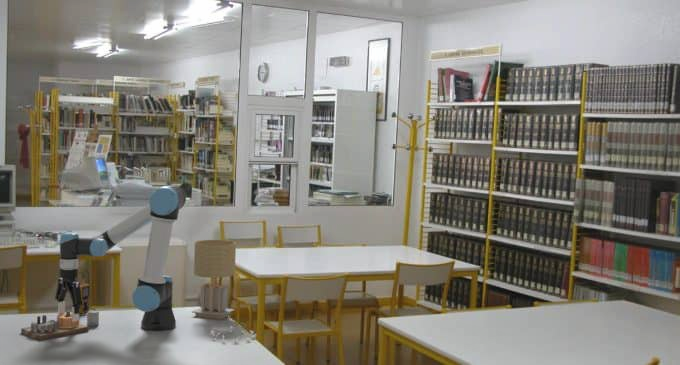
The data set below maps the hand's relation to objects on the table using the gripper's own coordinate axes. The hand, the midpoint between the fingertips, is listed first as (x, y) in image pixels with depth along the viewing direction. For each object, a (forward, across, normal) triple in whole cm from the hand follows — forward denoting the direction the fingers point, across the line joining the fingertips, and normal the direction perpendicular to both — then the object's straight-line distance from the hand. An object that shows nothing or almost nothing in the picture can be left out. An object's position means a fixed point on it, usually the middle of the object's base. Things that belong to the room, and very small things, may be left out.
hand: (68, 318), depth 326 cm
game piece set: (+5, +58, +44) cm, 73 cm away
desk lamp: (+5, +21, +64) cm, 68 cm away
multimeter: (+5, -22, +24) cm, 33 cm away
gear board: (+5, 0, -6) cm, 8 cm away
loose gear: (+3, 0, 0) cm, 3 cm away
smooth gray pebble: (+5, 0, +12) cm, 13 cm away
